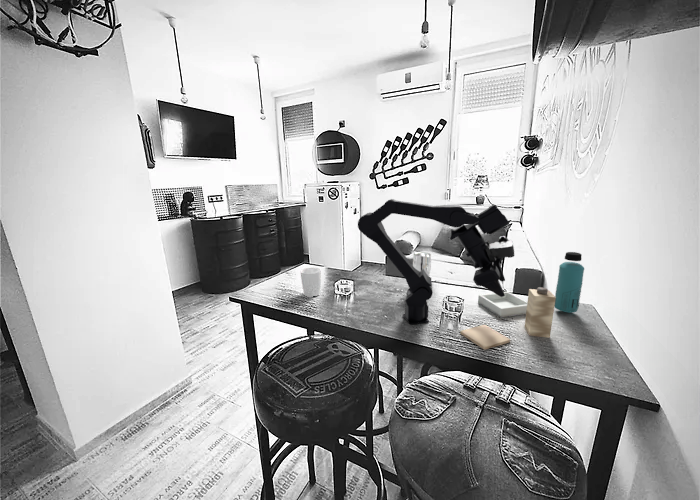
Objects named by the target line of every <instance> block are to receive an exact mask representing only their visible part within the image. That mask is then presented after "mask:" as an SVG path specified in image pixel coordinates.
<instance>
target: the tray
mask: <svg viewBox="0 0 700 500" xmlns="http://www.w3.org/2000/svg"><path fill="white" fill-rule="evenodd" d="M503 292H504V294H505V296H503V297H500V296H499V295H497V294H495V293H494V292H492V293H491V292H490V293H483V294H478V299H477V300H478V301H477V303H478V304H479V305H480V306H482V307H484V308H485V309H487V310H488V311H490V312H491V313H493V314H494V315H495V316H498V317H499V318H507V317H513V316H521V315H523V316H524V315H526V310H527V302H528V300H525V299H523V298H521V297H519V296H517V295H515V294H514V293H512V292H510V291H503Z"/></svg>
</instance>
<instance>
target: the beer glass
mask: <svg viewBox="0 0 700 500" xmlns="http://www.w3.org/2000/svg"><path fill="white" fill-rule="evenodd" d="M412 265H413V267H414V268H415V269H417V270H418V271H420V272H421V271H422V270H423V269H424V270H425V272H426V274H427V275H428V276H429V277H430V274H431V271H432V254H431V253H429V252H425V251H424V252H423V251H420V252H415V253H413V258H412Z"/></svg>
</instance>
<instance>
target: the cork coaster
mask: <svg viewBox="0 0 700 500" xmlns="http://www.w3.org/2000/svg"><path fill="white" fill-rule="evenodd" d="M459 334H460V335H462V336H463V337H465V338H466V339H468V340H469V341H471V343H473V344H475V345H477V346H478V347H480V348H481V349H483V350H484V351H486V350H489V349H492V348H496V347H499V346H502V345H506V344H508V343H510V342H511V338H509V337H507V336H505V335H503V334H502V333H500V332H498V331H497V330H495V329H493V328H492V327H490V326H487V325H486V324H481V325H477V326H473V327H470V328H466V329H462V330H460V333H459Z"/></svg>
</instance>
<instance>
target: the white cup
mask: <svg viewBox="0 0 700 500" xmlns="http://www.w3.org/2000/svg"><path fill="white" fill-rule="evenodd" d="M321 271H322V269H321V268H318V267H307V268H303V269H301V270H300V278H301V279H300V280H301V284H302V286H301V287H302V289H303V290H302V291H303V296H304V295H305V296H307V297H306V298H314V297H313V296H317V295H319V294H320V295H321V290H322V289H321V287H322V279H321V278H322V275H321V274H322V272H321ZM320 295H319V296H320ZM305 296H304V297H305ZM317 297H318V296H317Z"/></svg>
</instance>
